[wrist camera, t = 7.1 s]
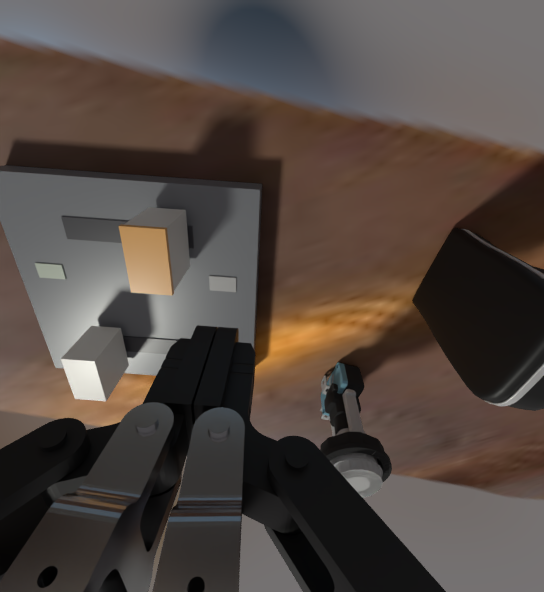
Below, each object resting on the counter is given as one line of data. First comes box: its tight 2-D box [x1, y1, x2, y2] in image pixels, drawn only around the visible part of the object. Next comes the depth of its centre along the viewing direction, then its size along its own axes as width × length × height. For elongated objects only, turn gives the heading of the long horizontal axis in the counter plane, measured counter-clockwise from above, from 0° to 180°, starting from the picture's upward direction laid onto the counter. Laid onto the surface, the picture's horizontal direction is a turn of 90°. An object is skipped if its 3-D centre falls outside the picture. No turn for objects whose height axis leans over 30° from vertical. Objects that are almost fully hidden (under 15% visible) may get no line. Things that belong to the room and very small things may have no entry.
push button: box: [320, 362, 392, 498], centre depth 27 cm, size 7×5×10 cm
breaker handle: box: [119, 207, 190, 296], centre depth 20 cm, size 2×4×4 cm, turn 176°
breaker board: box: [0, 165, 262, 401], centre depth 23 cm, size 18×17×6 cm
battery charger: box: [412, 228, 544, 411], centre depth 20 cm, size 7×4×11 cm, turn 165°
